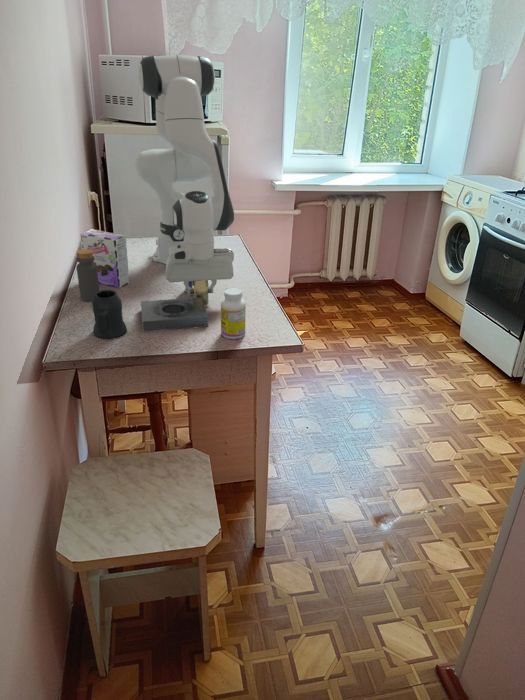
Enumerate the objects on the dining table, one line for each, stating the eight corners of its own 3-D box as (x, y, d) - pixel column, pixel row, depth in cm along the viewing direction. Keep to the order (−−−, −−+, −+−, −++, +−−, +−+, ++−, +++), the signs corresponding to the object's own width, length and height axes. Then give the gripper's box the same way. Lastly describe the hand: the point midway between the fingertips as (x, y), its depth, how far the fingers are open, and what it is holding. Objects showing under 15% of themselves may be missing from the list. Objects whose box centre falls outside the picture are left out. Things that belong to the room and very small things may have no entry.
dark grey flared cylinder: (96, 324, 149) (92, 287, 144) (129, 324, 150) (126, 287, 144) (86, 344, 138) (81, 305, 133) (122, 344, 139) (118, 305, 134)
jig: (141, 310, 158) (140, 301, 156) (201, 306, 162) (201, 297, 160) (143, 331, 146) (142, 321, 144) (208, 326, 150) (208, 317, 148)
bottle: (104, 297, 166) (98, 250, 158) (89, 303, 161) (83, 255, 154) (92, 292, 168) (85, 247, 161) (76, 298, 164) (69, 251, 157)
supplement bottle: (221, 329, 149) (220, 286, 142) (244, 329, 149) (245, 286, 143) (221, 340, 143) (220, 296, 137) (245, 340, 143) (246, 296, 137)
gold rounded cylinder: (191, 300, 166) (191, 275, 162) (207, 299, 167) (206, 275, 163) (193, 306, 162) (192, 281, 158) (209, 305, 163) (208, 280, 159)
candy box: (85, 281, 177) (79, 232, 169) (97, 275, 182) (91, 228, 174) (119, 288, 172) (114, 239, 164) (130, 282, 177) (126, 234, 169)
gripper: (232, 244, 161) (231, 287, 168) (163, 247, 157) (166, 291, 163) (235, 251, 156) (235, 295, 162) (165, 254, 151) (167, 299, 158)
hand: (200, 293), depth 163 cm, fingers closed on gold rounded cylinder, 5 cm apart
